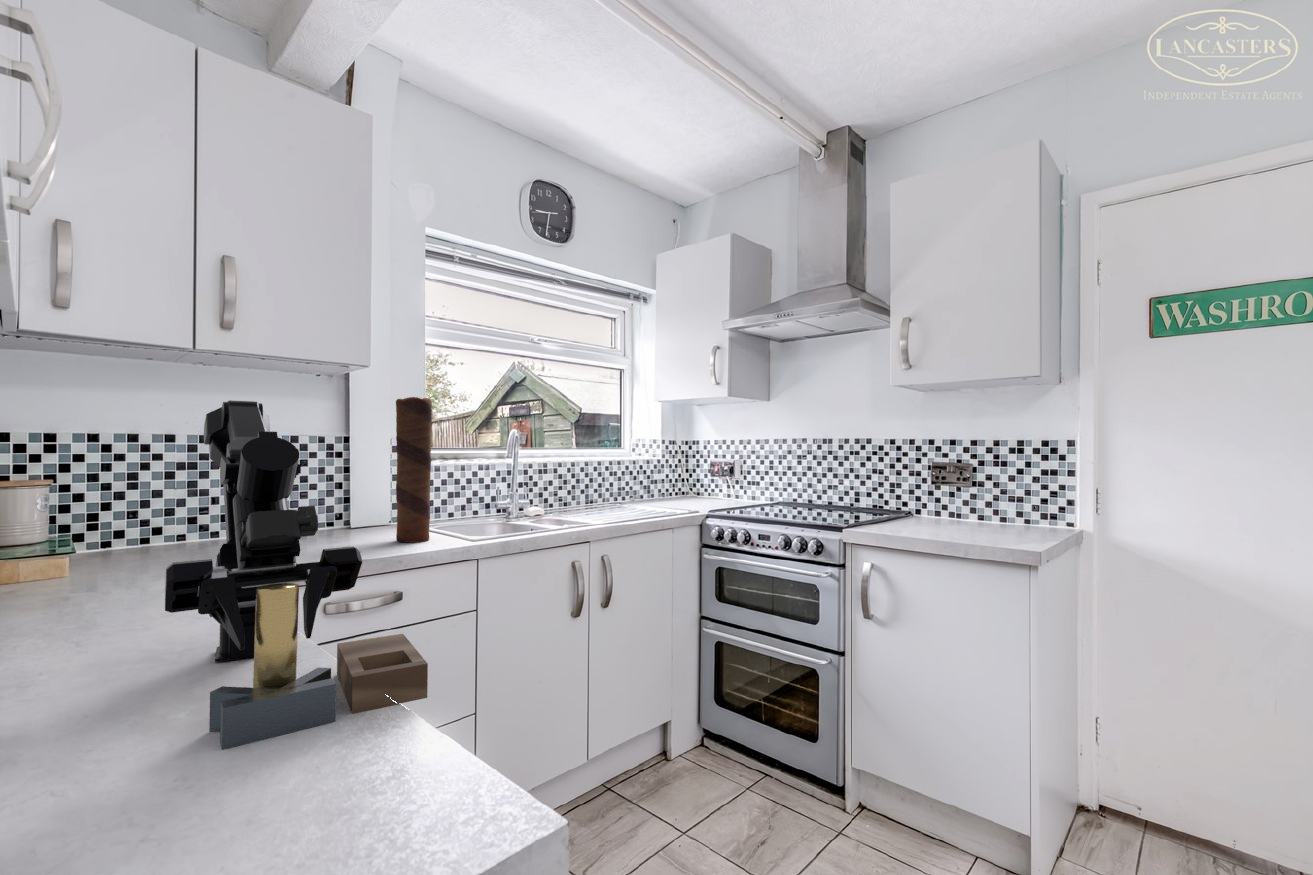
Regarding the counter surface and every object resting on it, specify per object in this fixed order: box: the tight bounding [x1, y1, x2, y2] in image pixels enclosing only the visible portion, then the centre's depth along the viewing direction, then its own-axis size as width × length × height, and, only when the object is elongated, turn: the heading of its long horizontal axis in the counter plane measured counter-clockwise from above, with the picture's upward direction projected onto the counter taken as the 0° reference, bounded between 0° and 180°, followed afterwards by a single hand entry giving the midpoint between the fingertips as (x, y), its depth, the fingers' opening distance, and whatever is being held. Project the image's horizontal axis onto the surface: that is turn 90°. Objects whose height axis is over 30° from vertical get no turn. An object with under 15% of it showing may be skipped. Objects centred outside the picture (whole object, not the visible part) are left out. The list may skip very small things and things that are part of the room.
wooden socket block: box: [336, 633, 429, 714], centre depth 77 cm, size 14×8×4 cm, turn 33°
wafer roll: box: [395, 396, 433, 543], centre depth 196 cm, size 10×11×45 cm
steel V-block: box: [208, 667, 337, 750], centre depth 66 cm, size 7×11×4 cm, turn 129°
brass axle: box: [252, 582, 300, 689], centre depth 68 cm, size 4×4×14 cm
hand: (276, 641), depth 67 cm, fingers open, 6 cm apart
